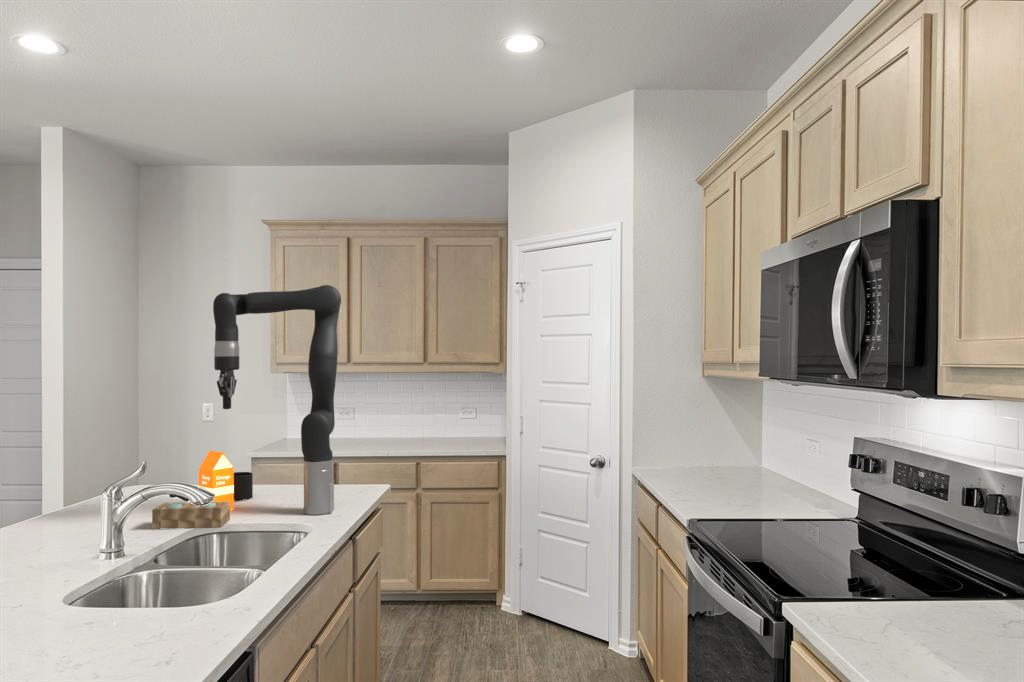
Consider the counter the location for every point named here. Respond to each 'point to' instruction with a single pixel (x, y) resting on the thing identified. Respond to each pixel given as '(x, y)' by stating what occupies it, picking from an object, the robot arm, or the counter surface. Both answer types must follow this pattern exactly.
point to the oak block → (190, 516)
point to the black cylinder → (243, 485)
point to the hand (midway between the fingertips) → (227, 408)
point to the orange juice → (218, 477)
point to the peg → (174, 505)
